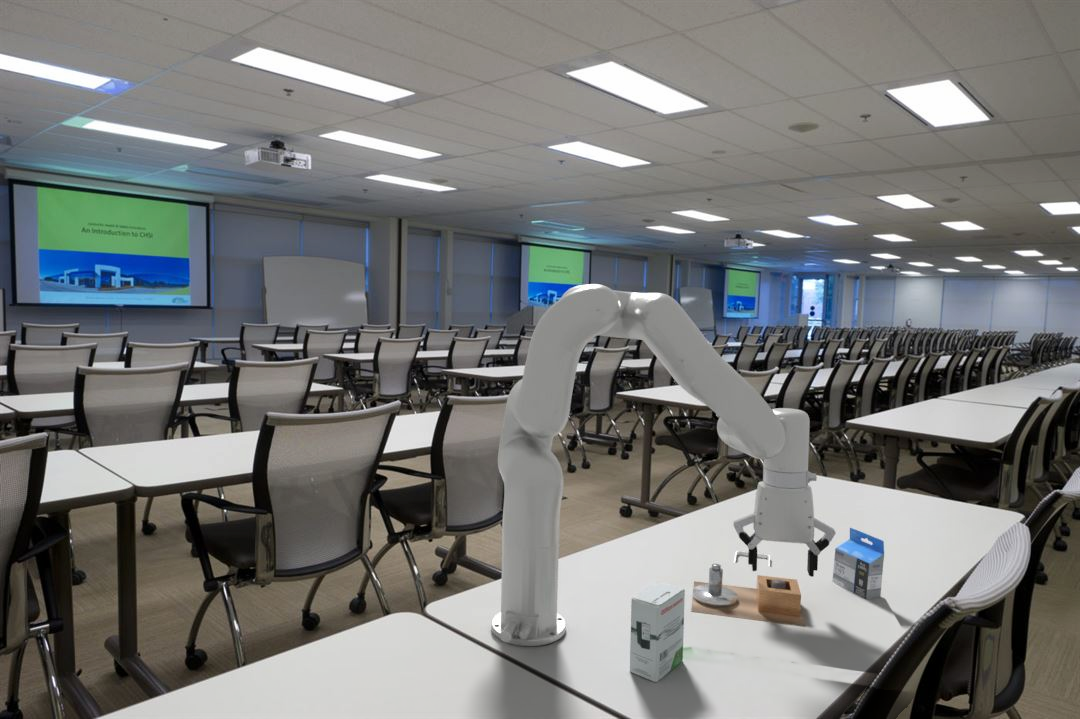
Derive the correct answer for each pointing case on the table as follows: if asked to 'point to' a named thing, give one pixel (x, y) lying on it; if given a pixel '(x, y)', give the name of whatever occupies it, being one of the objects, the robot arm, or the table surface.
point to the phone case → (748, 553)
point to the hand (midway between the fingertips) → (782, 571)
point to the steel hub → (715, 591)
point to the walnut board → (747, 606)
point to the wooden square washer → (778, 597)
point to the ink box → (657, 630)
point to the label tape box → (859, 565)
